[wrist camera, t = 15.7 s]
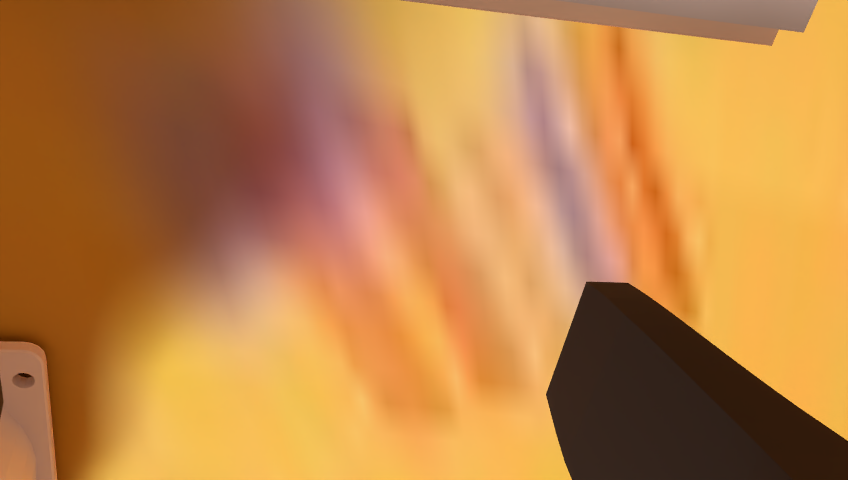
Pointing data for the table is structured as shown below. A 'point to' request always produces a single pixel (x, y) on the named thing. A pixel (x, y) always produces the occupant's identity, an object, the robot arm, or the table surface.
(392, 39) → the table surface
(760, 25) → the walnut board
